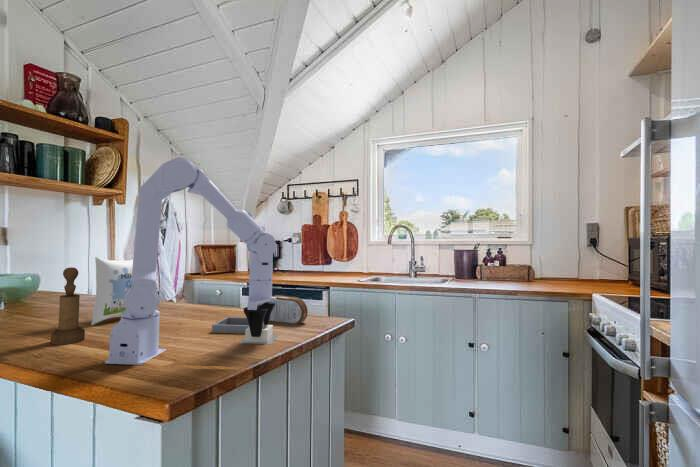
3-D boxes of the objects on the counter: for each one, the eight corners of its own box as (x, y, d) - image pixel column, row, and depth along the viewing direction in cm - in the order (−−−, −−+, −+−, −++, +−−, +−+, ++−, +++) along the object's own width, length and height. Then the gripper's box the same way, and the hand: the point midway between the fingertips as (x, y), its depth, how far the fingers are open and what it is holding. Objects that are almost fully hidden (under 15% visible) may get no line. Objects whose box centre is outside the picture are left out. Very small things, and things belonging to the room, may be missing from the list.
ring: (267, 342, 90) (267, 330, 90) (245, 341, 90) (245, 329, 90) (272, 336, 95) (272, 325, 95) (251, 336, 95) (252, 324, 95)
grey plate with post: (271, 346, 88) (271, 325, 88) (238, 345, 88) (238, 324, 89) (278, 337, 96) (278, 318, 96) (248, 336, 96) (248, 317, 97)
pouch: (81, 324, 107) (84, 256, 107) (141, 313, 125) (143, 254, 125) (99, 327, 104) (101, 257, 104) (158, 315, 121) (160, 255, 122)
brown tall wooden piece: (65, 345, 85) (68, 268, 86) (43, 343, 87) (46, 267, 87) (91, 338, 92) (93, 267, 92) (69, 336, 93) (72, 266, 93)
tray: (250, 335, 98) (251, 326, 98) (211, 334, 98) (212, 324, 98) (261, 326, 108) (261, 317, 108) (226, 325, 109) (226, 317, 109)
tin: (307, 325, 112) (308, 297, 112) (302, 327, 109) (303, 299, 109) (267, 319, 118) (268, 293, 119) (261, 321, 115) (262, 295, 116)
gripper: (269, 283, 85) (267, 341, 85) (282, 277, 100) (281, 327, 100) (239, 282, 86) (237, 340, 85) (257, 276, 100) (255, 326, 100)
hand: (259, 333), depth 92 cm, fingers closed on ring, 5 cm apart
